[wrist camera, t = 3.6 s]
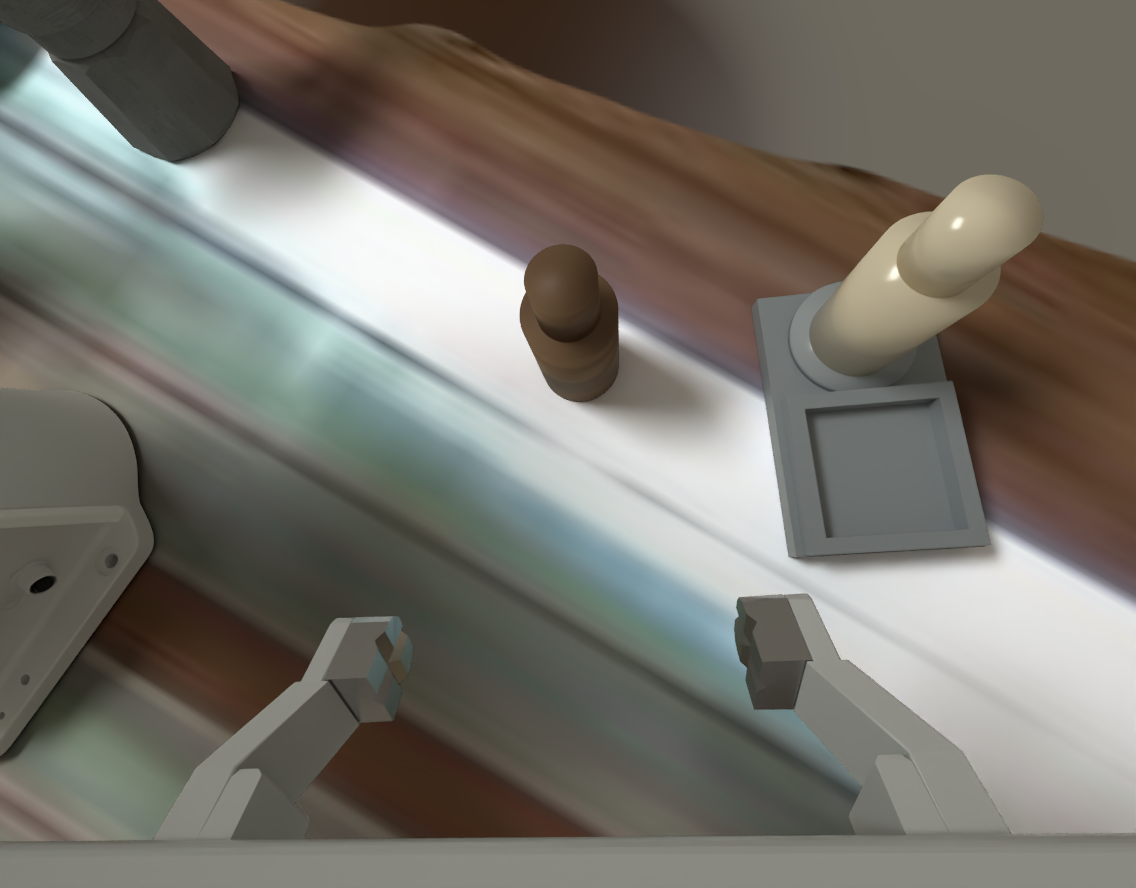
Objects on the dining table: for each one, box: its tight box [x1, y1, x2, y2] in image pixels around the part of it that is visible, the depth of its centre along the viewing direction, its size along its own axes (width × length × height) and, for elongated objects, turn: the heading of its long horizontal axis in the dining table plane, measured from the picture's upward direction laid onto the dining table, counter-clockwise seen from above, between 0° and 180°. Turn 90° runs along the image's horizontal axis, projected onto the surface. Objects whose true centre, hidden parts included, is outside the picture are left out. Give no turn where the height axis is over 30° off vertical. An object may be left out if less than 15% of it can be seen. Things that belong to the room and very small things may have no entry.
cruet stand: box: [752, 175, 1043, 557], centre depth 21 cm, size 15×9×12 cm, turn 4°
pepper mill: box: [520, 244, 619, 402], centre depth 24 cm, size 5×5×10 cm
